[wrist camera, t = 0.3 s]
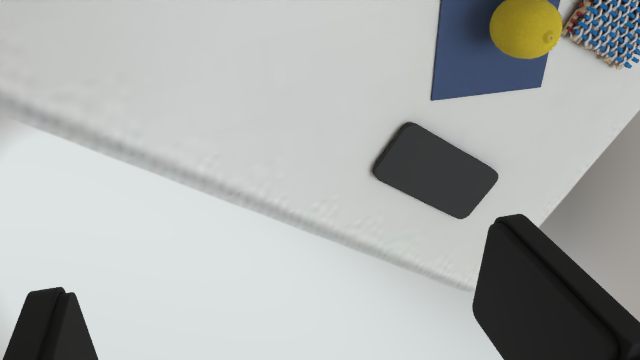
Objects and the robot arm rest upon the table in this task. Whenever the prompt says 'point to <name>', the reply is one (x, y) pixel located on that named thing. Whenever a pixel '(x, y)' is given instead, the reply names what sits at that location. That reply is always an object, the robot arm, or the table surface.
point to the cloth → (477, 54)
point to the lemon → (526, 28)
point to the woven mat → (608, 29)
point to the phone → (434, 171)
